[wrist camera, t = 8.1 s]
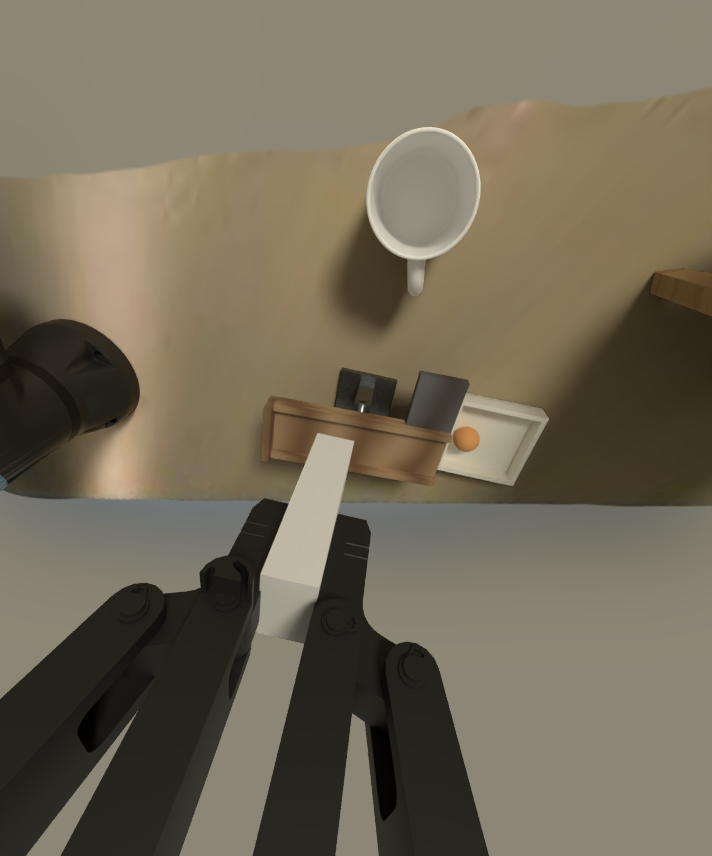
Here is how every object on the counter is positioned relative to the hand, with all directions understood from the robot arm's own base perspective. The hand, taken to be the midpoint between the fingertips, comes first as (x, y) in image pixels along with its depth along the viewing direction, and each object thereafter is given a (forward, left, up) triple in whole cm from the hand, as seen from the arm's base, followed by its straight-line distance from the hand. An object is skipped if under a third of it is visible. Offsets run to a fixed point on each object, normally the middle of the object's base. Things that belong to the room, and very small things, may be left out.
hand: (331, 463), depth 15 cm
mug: (+2, +8, -31) cm, 32 cm away
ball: (+14, -14, -28) cm, 35 cm away
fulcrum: (+1, -14, -30) cm, 33 cm away
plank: (+1, -11, -23) cm, 26 cm away
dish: (+17, -14, -30) cm, 37 cm away
